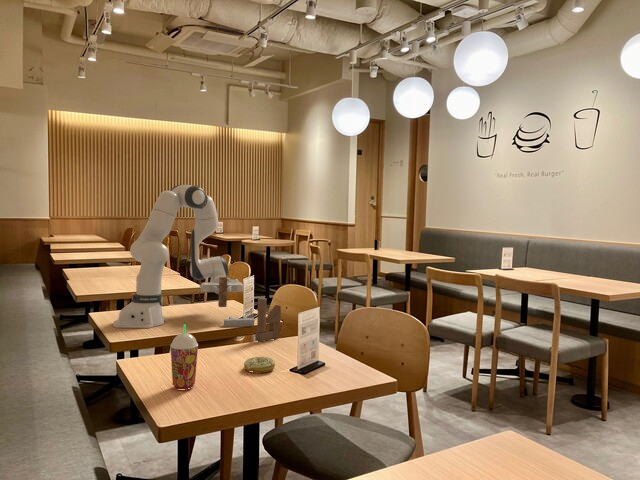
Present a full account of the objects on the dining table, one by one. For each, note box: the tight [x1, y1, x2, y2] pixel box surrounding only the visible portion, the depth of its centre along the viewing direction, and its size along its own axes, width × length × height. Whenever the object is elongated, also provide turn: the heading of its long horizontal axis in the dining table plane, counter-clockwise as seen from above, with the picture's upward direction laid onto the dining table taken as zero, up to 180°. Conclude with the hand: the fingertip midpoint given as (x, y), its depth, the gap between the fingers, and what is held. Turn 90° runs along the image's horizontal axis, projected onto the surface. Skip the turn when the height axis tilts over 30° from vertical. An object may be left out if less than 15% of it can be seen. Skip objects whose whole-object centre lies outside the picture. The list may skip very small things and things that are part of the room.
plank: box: [217, 276, 228, 308], centre depth 254 cm, size 4×4×14 cm
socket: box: [223, 315, 255, 328], centre depth 253 cm, size 14×8×3 cm, turn 106°
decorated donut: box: [243, 356, 276, 373], centre depth 187 cm, size 10×11×4 cm
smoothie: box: [170, 323, 199, 390], centre depth 166 cm, size 8×8×20 cm
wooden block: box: [254, 297, 282, 342], centre depth 228 cm, size 4×11×18 cm, turn 133°
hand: (223, 289), depth 253 cm, fingers closed on plank, 3 cm apart
